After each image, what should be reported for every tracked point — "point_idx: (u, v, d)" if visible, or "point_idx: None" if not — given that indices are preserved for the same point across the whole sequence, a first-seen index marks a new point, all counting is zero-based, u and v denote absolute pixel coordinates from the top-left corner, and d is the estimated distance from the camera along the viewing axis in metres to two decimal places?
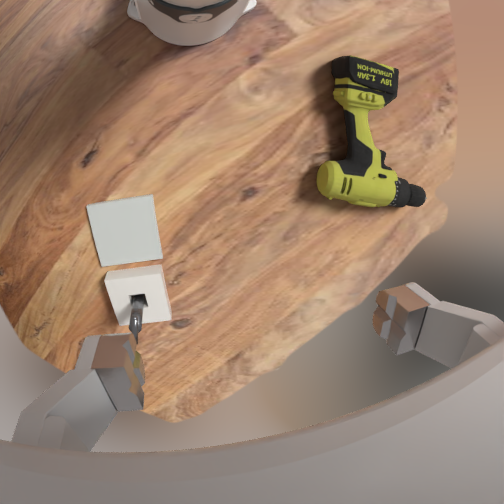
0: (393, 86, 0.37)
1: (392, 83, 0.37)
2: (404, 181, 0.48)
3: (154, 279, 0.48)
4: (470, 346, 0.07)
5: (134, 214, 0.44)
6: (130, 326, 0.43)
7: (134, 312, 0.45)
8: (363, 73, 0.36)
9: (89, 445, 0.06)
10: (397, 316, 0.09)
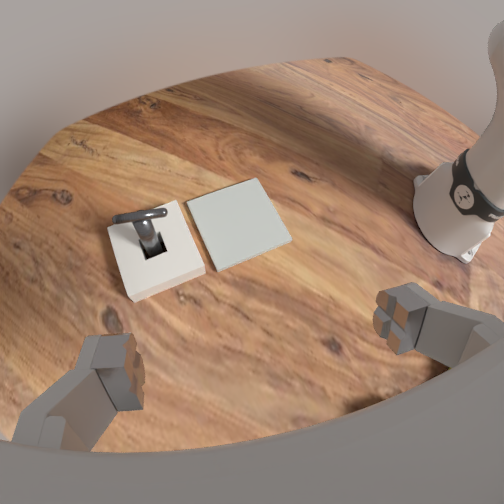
0: None
1: None
2: None
3: (193, 259, 0.36)
4: (470, 346, 0.07)
5: (265, 225, 0.41)
6: None
7: None
8: None
9: (89, 445, 0.06)
10: (397, 315, 0.09)
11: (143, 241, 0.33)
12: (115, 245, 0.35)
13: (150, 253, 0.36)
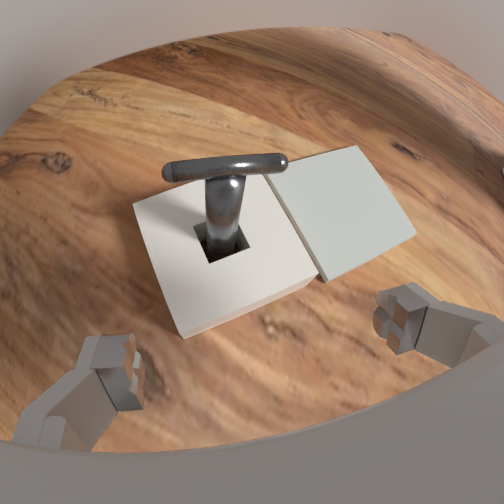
0: None
1: None
2: None
3: (298, 262, 0.20)
4: (470, 346, 0.07)
5: (382, 212, 0.26)
6: None
7: None
8: None
9: (89, 445, 0.06)
10: (397, 315, 0.09)
11: (216, 226, 0.17)
12: (148, 236, 0.20)
13: (217, 251, 0.20)
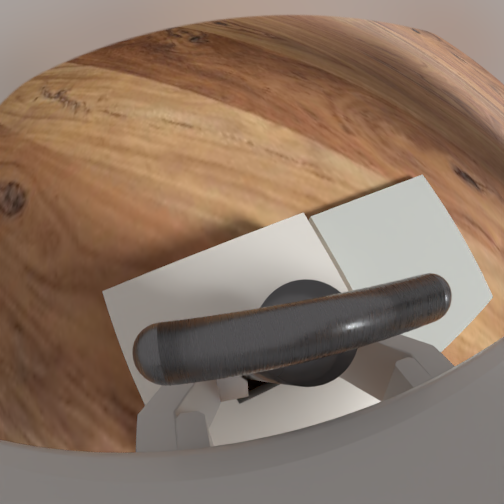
0: None
1: None
2: None
3: None
4: (392, 383, 0.06)
5: (459, 274, 0.17)
6: (315, 290, 0.06)
7: None
8: None
9: None
10: None
11: (260, 379, 0.08)
12: None
13: None
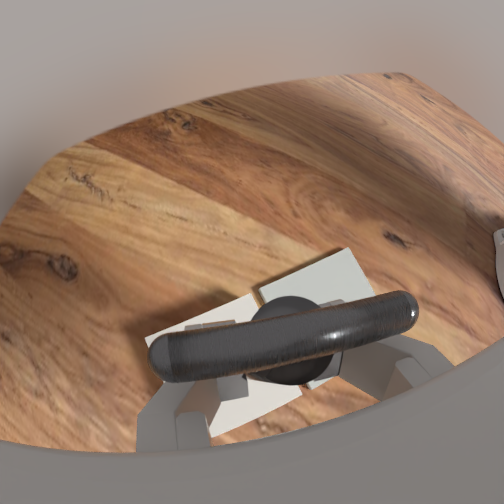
0: None
1: None
2: None
3: (286, 387, 0.23)
4: (392, 383, 0.06)
5: None
6: (297, 305, 0.07)
7: None
8: None
9: None
10: None
11: (254, 379, 0.09)
12: None
13: None
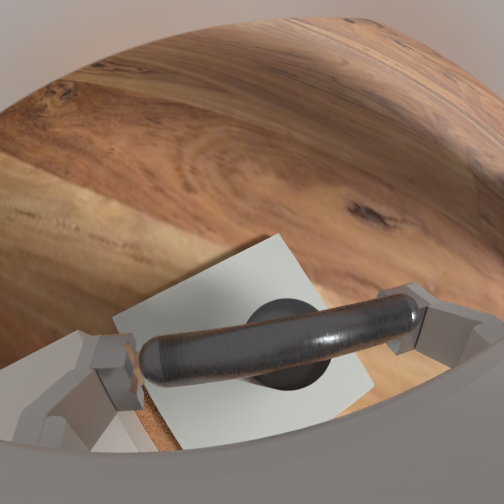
0: None
1: None
2: None
3: None
4: (470, 346, 0.07)
5: None
6: (294, 308, 0.06)
7: None
8: None
9: (89, 445, 0.06)
10: None
11: None
12: None
13: None
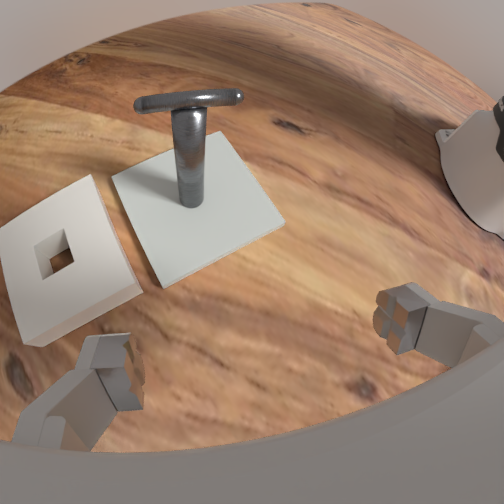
0: None
1: None
2: None
3: (115, 272, 0.19)
4: (470, 346, 0.07)
5: (238, 203, 0.24)
6: None
7: None
8: None
9: (89, 445, 0.06)
10: (396, 315, 0.09)
11: (182, 159, 0.18)
12: (4, 259, 0.17)
13: (186, 189, 0.21)
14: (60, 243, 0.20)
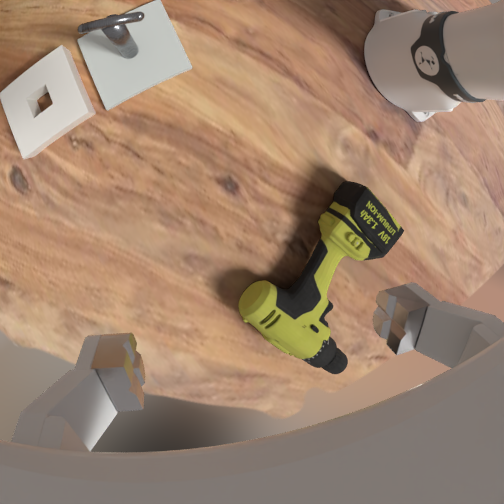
0: (388, 245, 0.37)
1: (389, 241, 0.37)
2: (333, 344, 0.44)
3: (77, 107, 0.26)
4: (470, 346, 0.07)
5: (161, 54, 0.28)
6: (114, 16, 0.17)
7: None
8: (368, 214, 0.35)
9: (89, 445, 0.06)
10: (396, 315, 0.09)
11: (114, 44, 0.21)
12: (7, 110, 0.23)
13: (122, 52, 0.24)
14: (43, 90, 0.25)
